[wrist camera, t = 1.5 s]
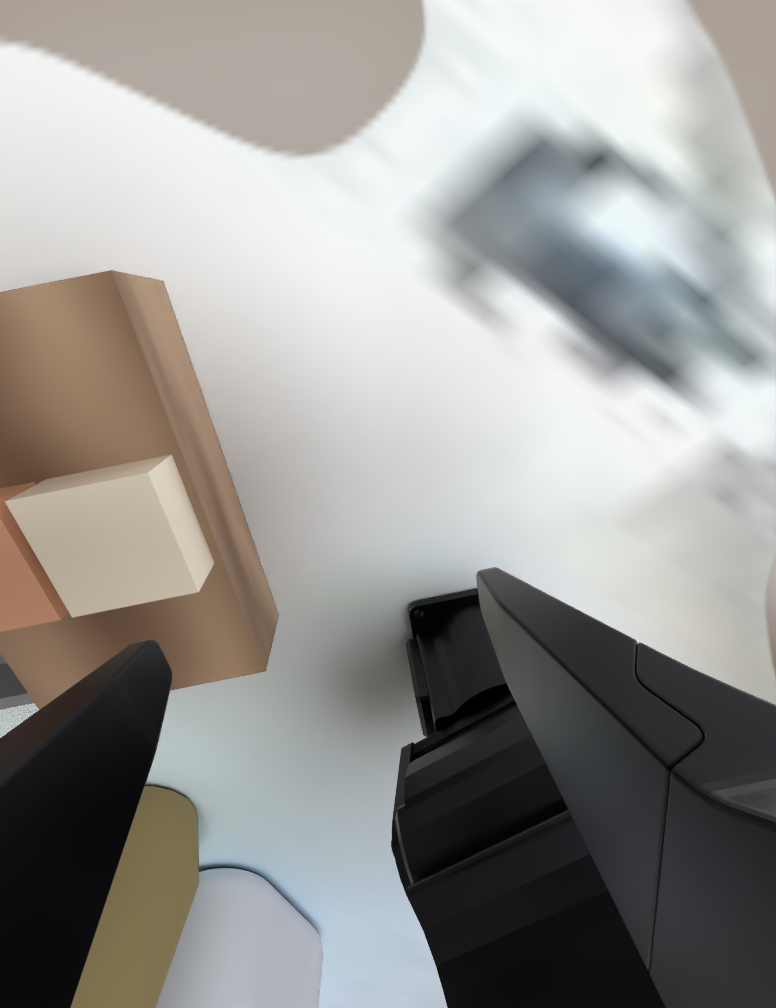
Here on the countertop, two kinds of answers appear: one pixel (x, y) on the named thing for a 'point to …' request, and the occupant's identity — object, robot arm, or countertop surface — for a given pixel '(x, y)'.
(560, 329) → the countertop surface
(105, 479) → the cream block
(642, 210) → the countertop surface
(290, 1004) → the plastic bottle
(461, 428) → the countertop surface
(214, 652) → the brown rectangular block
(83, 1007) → the squeeze bottle
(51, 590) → the terracotta tile
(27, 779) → the robot arm
